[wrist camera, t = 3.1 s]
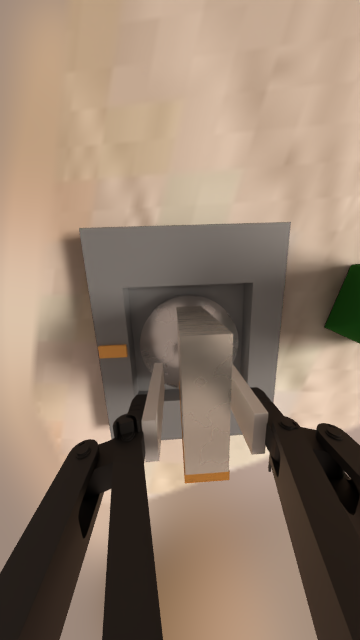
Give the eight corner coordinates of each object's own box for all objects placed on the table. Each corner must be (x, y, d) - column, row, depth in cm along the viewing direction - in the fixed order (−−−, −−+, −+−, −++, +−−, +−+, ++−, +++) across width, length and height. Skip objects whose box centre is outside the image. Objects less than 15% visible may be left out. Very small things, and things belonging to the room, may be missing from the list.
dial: (138, 296, 18) (90, 318, 7) (234, 292, 18) (318, 308, 8) (146, 383, 20) (117, 493, 9) (232, 378, 20) (293, 480, 10)
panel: (92, 236, 17) (77, 227, 14) (274, 230, 17) (293, 220, 14) (119, 425, 22) (111, 446, 19) (259, 416, 22) (271, 435, 19)
